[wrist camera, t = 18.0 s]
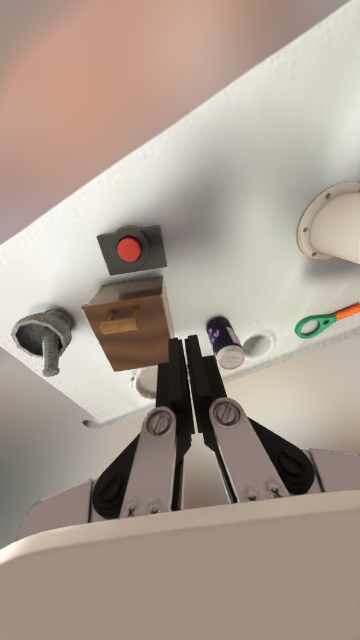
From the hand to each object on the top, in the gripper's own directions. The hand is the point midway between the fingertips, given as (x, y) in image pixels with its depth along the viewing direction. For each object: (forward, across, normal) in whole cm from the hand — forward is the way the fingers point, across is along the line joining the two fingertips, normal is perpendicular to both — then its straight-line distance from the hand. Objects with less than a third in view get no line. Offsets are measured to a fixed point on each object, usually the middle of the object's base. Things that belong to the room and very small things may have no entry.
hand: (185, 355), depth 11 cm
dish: (+29, +8, +32) cm, 44 cm away
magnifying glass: (+29, -35, +22) cm, 51 cm away
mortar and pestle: (+29, +28, +12) cm, 42 cm away
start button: (+26, +7, -2) cm, 27 cm away
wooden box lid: (+19, +9, +12) cm, 24 cm away
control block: (+29, +7, -1) cm, 30 cm away
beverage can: (+29, -8, +19) cm, 36 cm away
